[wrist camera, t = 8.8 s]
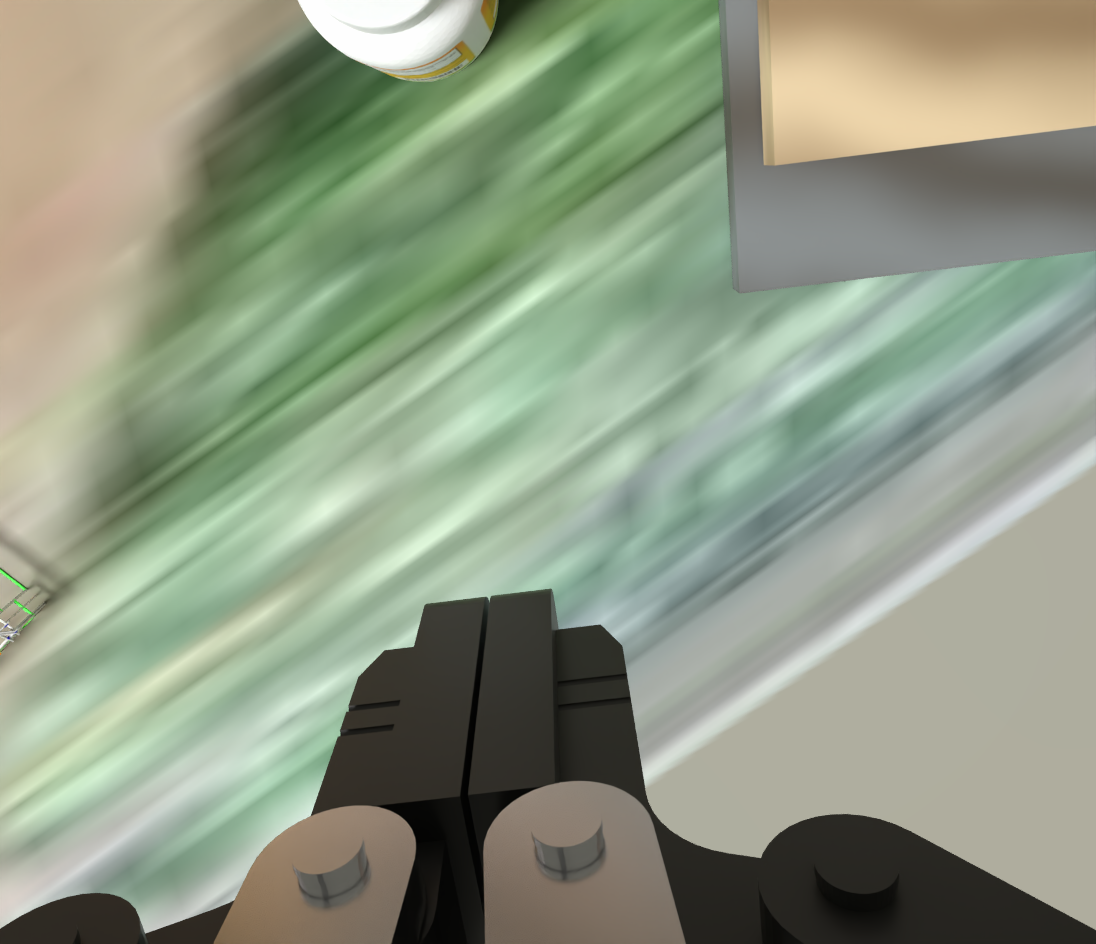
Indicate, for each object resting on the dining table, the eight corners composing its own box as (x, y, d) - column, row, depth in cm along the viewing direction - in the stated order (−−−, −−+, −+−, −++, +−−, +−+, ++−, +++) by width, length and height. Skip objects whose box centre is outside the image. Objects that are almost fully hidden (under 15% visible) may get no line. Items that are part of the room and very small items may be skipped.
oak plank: (753, -101, 29) (764, -115, 27) (1271, -171, 28) (1312, -190, 27) (763, 165, 31) (775, 165, 30) (1239, 106, 31) (1275, 103, 29)
